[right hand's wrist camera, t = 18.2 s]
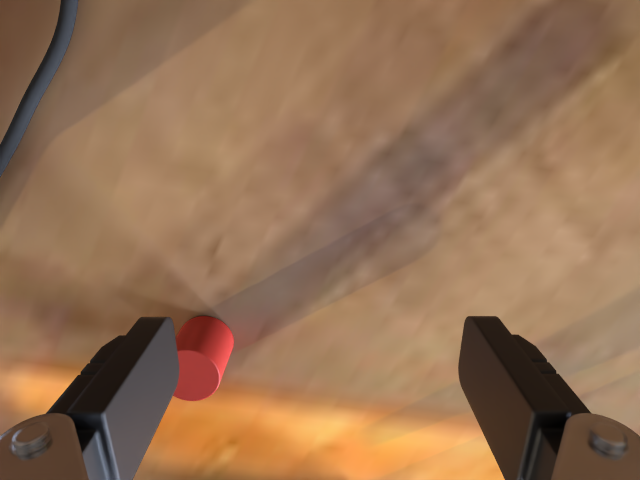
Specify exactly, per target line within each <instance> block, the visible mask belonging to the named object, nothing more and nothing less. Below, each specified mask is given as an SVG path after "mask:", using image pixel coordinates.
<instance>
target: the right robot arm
mask: <svg viewBox="0 0 640 480" xmlns="http://www.w3.org/2000/svg"><path fill="white" fill-rule="evenodd" d="M77 7H78V0H61V5H60V13H59V17H58V22H57V26H56V29H55V33H54V36H53V38H52V41H51V43H50V46H49V48H48V50H47V52H46V54H45V56H44V58H43V60H42V62H41V64H40V66H39V68H38V70H37V72H36V73H35V75H34V77H33V79H32V81H31V83H30V84H29V86H28V88H27V90H26V92H25V94H24V96H23V98H22V100H21V102H20V104H19V106H18V108H17V111H16V113H15V115H14V117H13V120H12V122H11V124H10V126H9V128H8V130H7V132H6V134H5V136H4V138H3V140H2V142H1V144H0V177H1V175H2V173H3V172H4V170H5V168H6V166H7V165H8V163H9V161H10V159H11V157H12V156H13V154H14V152H15V150H16V148H17V146H18V144H19V142H20V140H21V139H22V136H23V134H24V132H25V130H26V128H27V126H28V124H29V122H30V120H31V118H32V115H33V113H34V111H35V109H36V107H37V105H38V103H39V101H40V99H41V98H42V96H43V94H44V92H45V90H46V89H47V87H48V85H49V83H50V82H51V80H52V78H53V76H54V74H55V73H56V71H57V69H58V67H59V65H60V63H61V61H62V59H63V57H64V54H65V52H66V50H67V47H68V45H69V42H70V39H71V36H72V32H73V29H74V24H75V20H76V14H77ZM458 371H459V379H460V384H461V387H462V389H463V391H464V393H465V396H466V398H467V400H468V402H469V404H470V406H471V408H472V410H473V412H474V415H475V417H476V419H477V421H478V423H479V425H480V427H481V429H482V432H483V434H484V436H485V438H486V440H487V442H488V444H489V446H490V449H491V451H492V453H493V455H494V457H495V459H496V461H497V463H498V465H499V468H500V470H501V472H502V474H503V476H504V478H505V480H640V436H639V435H638V434H636V433H635V432H634V431H632V430H631V429H630V428H628V427H626V426H625V425H623V424H621V423H619V422H617V421H615V420H613V419H610V418H608V417H605V416H601V415H597V414H592V413H591V412H590V411H589V410H588V409H587V407H586V406H585V405H584V404H583V403H582V401H581V400H580V399H579V398H578V397H577V395H576V394H575V393H574V392H573V391H572V389H571V388H570V387H569V386H568V385H567V383H566V382H565V381H564V380H563V379H562V377H561V376H560V375H559V374H556V370H555V369H554V368H553V367H552V365H551V364H550V363H549V362H547V359H546V358H545V357H544V356H543V355H542V353H541V352H540V351H539V350H538V349H537V347H536V346H534V345H533V344H531V343H530V342H528V341H527V340H525V339H524V338H522V337H521V336H519V335H511V333H510V332H509V331H508V329H507V328H506V327H505V326H504V324H503V323H502V322H501V320H500V319H499V318H498V317H496V316H468V317H467V318H466V320H465V323H464V329H463V336H462V343H461V350H460V357H459V366H458ZM178 379H179V359H178V352H177V345H176V338H175V331H174V325H173V321H172V319H171V318H170V317H141V318H139V319H138V321H137V322H136V323H135V324H134V326H133V327H132V328H131V330H130V331H129V332H128V333H127V335H126V336H118V337H116V338H115V339H113V340H112V341H110V342H109V343H107V344H106V345H104V346H103V347H101V349H100V350H99V351H98V352H97V353H96V355H95V356H94V357H93V358H92V359H91V360H90V363H88V364H87V365H86V366H85V368H84V369H83V370H82V371H81V375H78V376H77V377H76V378H75V380H74V381H73V382H72V383H71V384H70V386H69V387H68V388H67V389H66V390H65V391H64V393H63V394H62V395H61V396H60V397H59V399H58V400H57V401H56V402H55V403H54V405H53V406H52V407H51V408H50V409H49V411H48V412H47V413H46V414H43V415H39V416H35V417H32V418H30V419H27V420H25V421H23V422H21V423H19V424H17V425H15V426H14V427H12V428H10V429H9V430H8V431H6V432H5V433H4V434H2V435H1V436H0V480H133V478H134V476H135V473H136V471H137V469H138V467H139V465H140V463H141V461H142V459H143V457H144V455H145V452H146V450H147V448H148V446H149V444H150V442H151V440H152V438H153V436H154V434H155V432H156V429H157V427H158V425H159V423H160V421H161V419H162V417H163V415H164V413H165V411H166V409H167V406H168V404H169V402H170V400H171V398H172V396H173V394H174V392H175V390H176V387H177V384H178Z"/></svg>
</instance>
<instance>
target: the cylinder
mask: <svg viewBox="0 0 640 480" xmlns="http://www.w3.org/2000/svg"><path fill="white" fill-rule="evenodd" d="M233 344H234V340H233V335H232V333H231V331H230V329H229V328H228V327H227V325H226V324H224V323H223V322H222V321H220V320H218V319H216V318H213V317H209V316H199V317H195V318H192V319H190V320H189V321H187V322H186V323H185V324H184V325H183V327H182V328H181V330H180V331H179V333H178V335H177V336H176V345H177V352H178V359H179V379H178V384H177V387H176V390H175V392H174V394H173V396H175V397H177V398H179V399H182V400H187V401H198V400H202V399H205V398H207V397H209V396H210V395H212V394H213V393H214V392H215V391H216V390H217V388H218V386H219V383H220V381H221V378H222V375H223V373H224V370H225V367H226V365H227V362H228V359H229V357H230V354H231V351H232V348H233Z"/></svg>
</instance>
